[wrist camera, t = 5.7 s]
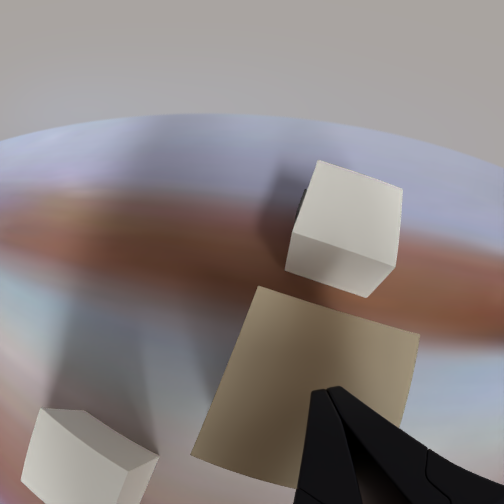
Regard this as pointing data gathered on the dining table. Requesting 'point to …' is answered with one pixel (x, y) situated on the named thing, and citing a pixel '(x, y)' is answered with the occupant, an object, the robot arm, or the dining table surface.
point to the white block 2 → (346, 230)
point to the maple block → (298, 382)
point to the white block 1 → (84, 461)
